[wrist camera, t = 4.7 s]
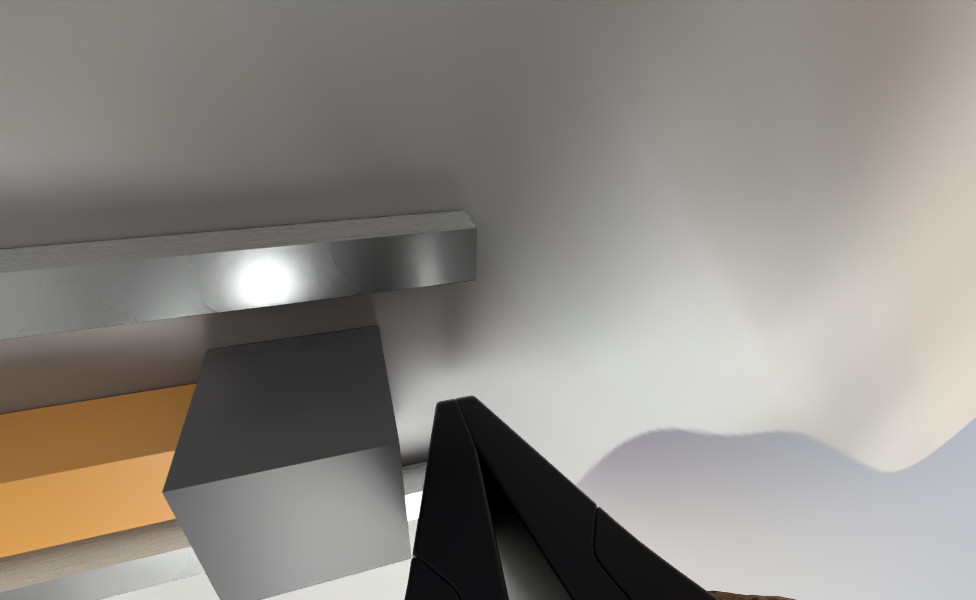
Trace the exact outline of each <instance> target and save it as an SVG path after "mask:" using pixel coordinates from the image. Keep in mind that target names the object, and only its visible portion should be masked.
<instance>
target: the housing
mask: <svg viewBox="0 0 976 600" xmlns="http://www.w3.org/2000/svg"><path fill="white" fill-rule="evenodd" d="M473 280H476V226H475V225H474V223H473V222H472V221H471V219H470V218H469V216H468V215H467V213H466V212H465V210H461V211H449V212H437V213H425V214H413V215H402V216H390V217H378V218H366V219H354V220H343V221H331V222H319V223H307V224H295V225H283V226H272V227H260V228H248V229H236V230H224V231H213V232H201V233H189V234H177V235H165V236H154V237H142V238H130V239H118V240H106V241H95V242H83V243H71V244H59V245H47V246H36V247H24V248H12V249H0V340H2V339H10V338H18V337H26V336H34V335H42V334H50V333H58V332H66V331H74V330H82V329H90V328H98V327H106V326H114V325H122V324H130V323H138V322H146V321H154V320H162V319H170V318H178V317H186V316H194V315H202V314H210V313H218V312H226V311H234V310H242V309H249V308H257V307H265V306H273V305H281V304H289V303H297V302H305V301H313V300H321V299H329V298H337V297H345V296H353V295H361V294H369V293H377V292H385V291H393V290H401V289H409V288H417V287H425V286H433V285H441V284H449V283H457V282H465V281H473ZM426 466H427V462H423V463H418V464H414V465H409V466H405V467H402V473H403V483H404V492H405V501H406V511H407V520H408V521H410V520H414V519H418V517H419V511H420V504H421V498H422V492H423V485H424V479H425V472H426ZM201 573H205V571H204V569H203V567H202V565H201V563H200V562H199V560H198V558H197V556H196V554H195V552H194V550H193V549H192V547H191V545H190V543H189V541H188V539H187V538H186V536H185V534H184V532H183V530H182V528H181V527H180V525H179V523H178V521H177V519H172V520H167V521H163V522H158V523H154V524H150V525H145V526H141V527H136V528H132V529H127V530H123V531H118V532H114V533H109V534H105V535H100V536H96V537H91V538H87V539H82V540H78V541H73V542H69V543H65V544H60V545H56V546H51V547H47V548H42V549H38V550H33V551H29V552H24V553H20V554H15V555H11V556H6V557H2V558H0V600H99V599H103V598H107V597H111V596H115V595H119V594H123V593H127V592H131V591H135V590H138V589H142V588H146V587H150V586H154V585H158V584H162V583H166V582H170V581H174V580H178V579H182V578H186V577H190V576H194V575H198V574H201Z"/></svg>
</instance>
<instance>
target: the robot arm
mask: <svg viewBox="0 0 976 600" xmlns="http://www.w3.org/2000/svg"><path fill="white" fill-rule="evenodd" d="M405 600H718V599H717V598H715V597H714V596H713V595H711V594H710V593H709V592H707V591H706V590H704V589H703V588H702V587H700V586H699V585H698V584H696V583H695V582H693V581H692V580H691V579H689V578H688V577H687V576H685V575H684V574H683V573H681V572H680V571H678V570H677V569H676V568H674V567H673V566H671V565H670V564H669V563H667V562H666V561H665V560H663V559H662V558H661V557H660V556H658V555H657V554H656V553H654V552H653V551H652V550H650V549H649V548H648V547H646V546H645V545H644V544H643V543H641V542H640V541H639V540H638V539H636V538H635V537H634V536H633V535H632V534H630V533H629V532H628V531H627V530H626V529H624V528H623V527H622V526H621V525H620V524H619V523H617V522H616V521H615V520H614V519H613V518H612V517H610V516H609V515H608V514H607V513H606V512H605V511H604V510H603V509H601V508H600V507H598V508H597V505H596V503H594V502H593V501H592V500H591V499H590V498H589V497H588V496H587V495H585V494H584V493H583V492H582V491H581V490H580V489H579V488H578V487H576V486H575V485H574V484H573V483H572V482H571V481H570V480H569V479H567V478H566V477H565V476H564V475H563V474H562V473H561V472H560V471H558V470H557V469H556V468H555V467H554V466H553V465H552V464H550V463H549V462H548V461H547V460H546V459H545V458H544V457H543V456H541V455H540V454H539V453H538V452H537V451H536V450H535V449H534V448H532V447H531V446H530V445H529V444H528V443H527V442H526V441H525V440H523V439H522V438H521V437H520V436H519V435H518V434H517V433H516V432H514V431H513V430H512V429H511V428H510V427H509V426H508V425H506V424H505V423H504V422H503V421H502V420H501V419H500V418H499V417H497V416H496V415H495V414H494V413H493V412H492V411H491V410H490V409H488V408H487V407H486V406H485V405H484V404H483V403H482V402H481V401H479V400H478V399H477V398H476V397H474V396H466V397H461V398H456V399H450V400H445V401H440V402H438V403H437V404H436V409H435V415H434V422H433V428H432V434H431V441H430V447H429V453H428V460H427V466H426V472H425V479H424V485H423V492H422V498H421V504H420V511H419V517H418V523H417V530H416V536H415V542H414V549H413V558H412V560H411V566H410V573H409V579H408V585H407V590H406V595H405Z"/></svg>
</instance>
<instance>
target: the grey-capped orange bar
mask: <svg viewBox="0 0 976 600" xmlns="http://www.w3.org/2000/svg"><path fill="white" fill-rule="evenodd" d="M172 519H177V521H178V523H179V525H180V527H181V528H182V530H183V532H184V534H185V536H186V538H187V539H188V541H189V543H190V545H191V547H192V549H193V550H194V552H195V554H196V556H197V558H198V560H199V562H200V563H201V565H202V567H203V569H204V571H205V573H206V574H207V576H208V578H209V580H210V582H211V584H212V585H213V587H214V589H215V591H216V593H217V595H218V596H219V598H220V600H261V599H265V598H269V597H272V596H276V595H280V594H283V593H287V592H291V591H294V590H298V589H301V588H305V587H309V586H312V585H316V584H320V583H323V582H327V581H331V580H334V579H338V578H342V577H345V576H349V575H352V574H356V573H360V572H363V571H367V570H371V569H374V568H378V567H382V566H385V565H389V564H392V563H396V562H400V561H403V560H407V559H411V549H410V539H409V530H408V520H407V511H406V501H405V492H404V483H403V473H402V464H401V454H400V445H399V438H398V433H397V427H396V422H395V416H394V411H393V405H392V400H391V394H390V389H389V383H388V377H387V372H386V366H385V361H384V355H383V350H382V344H381V339H380V333H379V328H378V326H373V327H366V328H359V329H352V330H345V331H338V332H331V333H324V334H317V335H310V336H303V337H296V338H289V339H282V340H275V341H268V342H261V343H254V344H247V345H240V346H233V347H226V348H219V349H212V350H207V353H206V356H205V359H204V362H203V365H202V368H201V371H200V375H199V378H198V381H197V383H195V384H189V385H183V386H176V387H170V388H164V389H157V390H151V391H145V392H138V393H132V394H126V395H120V396H113V397H107V398H101V399H94V400H88V401H82V402H75V403H69V404H63V405H57V406H50V407H44V408H38V409H31V410H25V411H19V412H13V413H6V414H0V558H2V557H6V556H11V555H15V554H20V553H24V552H29V551H33V550H38V549H42V548H47V547H51V546H56V545H60V544H65V543H69V542H73V541H78V540H82V539H87V538H91V537H96V536H100V535H105V534H109V533H114V532H118V531H123V530H127V529H132V528H136V527H141V526H145V525H150V524H154V523H158V522H163V521H167V520H172Z"/></svg>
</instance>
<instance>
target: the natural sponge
mask: <svg viewBox="0 0 976 600" xmlns="http://www.w3.org/2000/svg"><path fill="white" fill-rule="evenodd" d="M707 592H709V593H710V594H711V595H713V596H714V597H715V598H717V599H718V600H794V599H790V598H785V597H780V596H758V595H741V594H734V593H727V592H719V591H707Z"/></svg>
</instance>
